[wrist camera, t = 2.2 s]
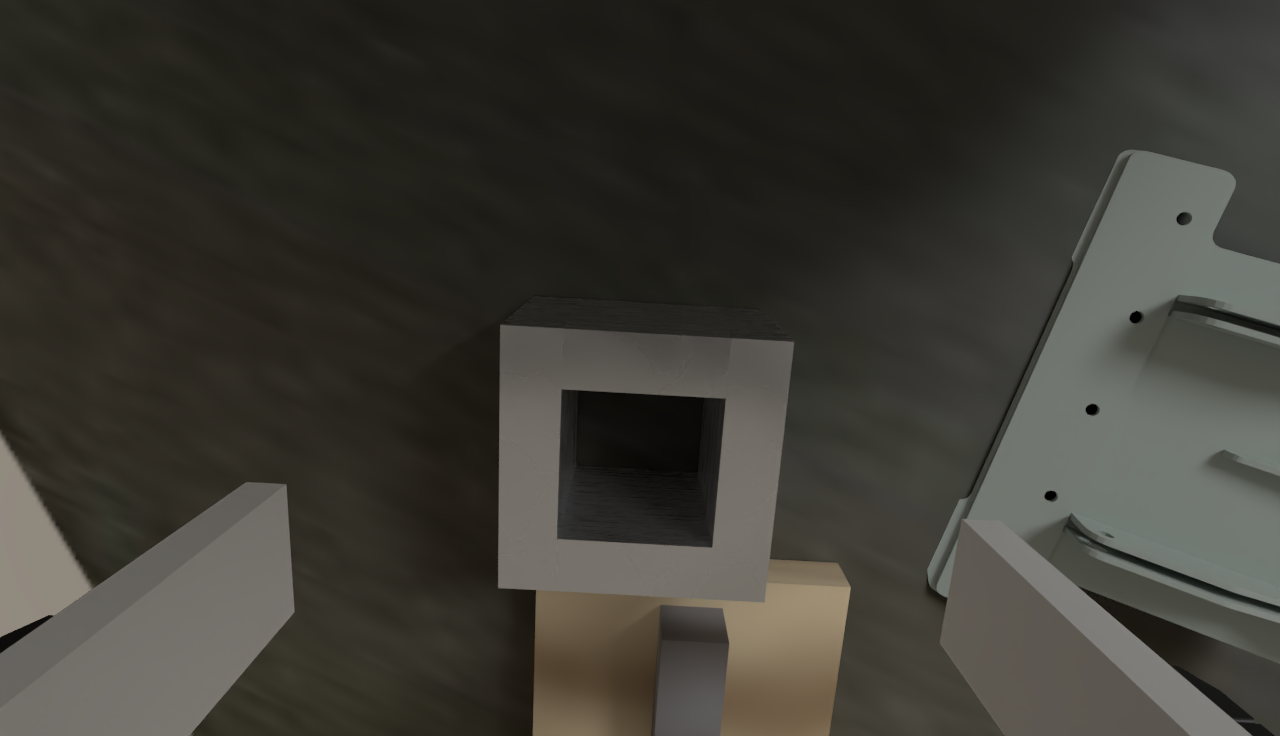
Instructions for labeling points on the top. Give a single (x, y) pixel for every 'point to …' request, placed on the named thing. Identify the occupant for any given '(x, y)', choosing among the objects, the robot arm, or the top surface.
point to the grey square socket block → (640, 498)
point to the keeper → (692, 660)
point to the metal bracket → (1151, 416)
